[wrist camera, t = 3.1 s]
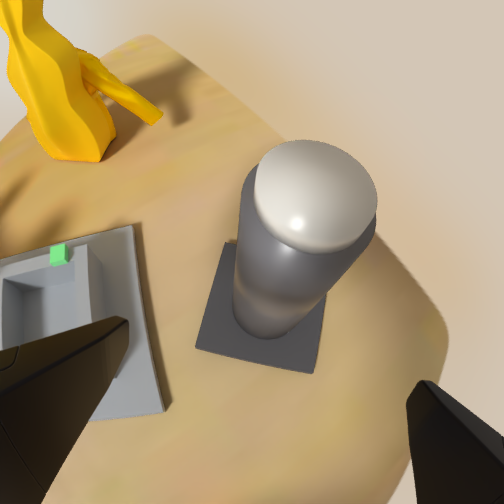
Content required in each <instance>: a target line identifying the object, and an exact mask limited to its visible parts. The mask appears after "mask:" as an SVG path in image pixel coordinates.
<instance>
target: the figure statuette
mask: <svg viewBox="0 0 504 504" xmlns="http://www.w3.org/2000/svg"><path fill="white" fill-rule="evenodd" d="M0 26H1V27H2V28H3V30H4V31H5V32H6V34H7V35H8V37H9V55H8V62H7V76H8V79H9V81H10V83H11V85H12V87H13V88H14V89H15V91H16V93H17V94H18V95H19V97H20V98H21V99H22V101H23V102H24V104H25V106H26V107H27V116H26V118H27V120H28V121H29V122H30V123H31V127H32V130H33V132H34V134H35V136H36V138H37V140H38V141H39V143H40V144H41V146H42V147H43V148H44V150H45V151H46V152H47V153H48V154H49V155H50V156H51V157H52V158H54V159H57V160H71V161H86V162H99V161H100V160H101V158H102V156H103V154H104V152H105V150H106V149H107V147H108V145H109V143H110V142H111V141H112V140H113V139H114V138H115V137H116V135H117V134H116V130H115V127H114V123H113V120H112V118H111V116H110V114H109V111H108V109H107V107H106V106H105V104H104V102H103V101H102V99H101V96H100V95H99V93H98V91H100V92H102V93H103V94H105V95H106V96H108V97H109V98H111V99H113V100H114V101H116V102H117V103H119V104H120V105H122V106H123V107H125V108H126V109H128V110H129V111H131V112H132V113H134V114H135V115H137V116H138V117H140V118H141V119H142V120H144V121H145V122H146V123H148V124H149V125H150V126H152V125H154V124H155V123H156V122H157V121H158V120H159V119H160V118H161V117H162V116H163V114H164V113H163V112H162V111H161V110H159V109H158V108H157V107H155V106H154V105H153V104H151V103H150V102H149V101H147V100H146V99H145V98H144V97H142V96H141V95H140V94H139V93H137V92H136V91H134V90H133V89H132V88H130V87H129V86H127V85H125V84H122V82H121V81H120V80H119V79H118V78H117V77H116V76H115V75H113V74H112V73H110V72H109V71H108V69H107V68H106V67H105V66H103V65H102V63H101V62H100V60H99V59H98V58H97V57H95V56H94V55H92V54H90V53H87V52H86V51H84V50H81V49H78V48H75V47H74V46H73V45H72V44H71V43H70V42H69V41H68V40H67V39H66V38H65V37H64V36H62V35H61V34H60V33H59V32H57V31H56V30H55V29H54V28H53V27H52V26H50V25H49V24H48V23H47V22H46V20H45V19H44V17H43V0H0Z"/></svg>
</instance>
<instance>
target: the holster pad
mask: <svg viewBox="0 0 504 504" xmlns="http://www.w3.org/2000/svg"><path fill="white" fill-rule="evenodd" d="M236 249H237V245H235V244H231V243H226V242H225V244H224V248H223V251H222V254H221V258H220V261H219V264H218V268H217V271H216V275H215V278H214V281H213V285H212V288H211V292H210V295H209V299H208V302H207V306H206V309H205V313H204V316H203V320H202V323H201V327H200V331H199V334H198V338H197V341H196V345H195V348H196V349H200V350H204V351H208V352H211V353H215V354H219V355H223V356H227V357H231V358H236V359H240V360H244V361H248V362H253V363H257V364H262V365H267V366H272V367H277V368H282V369H287V370H292V371H297V372H303V373H309V374H312V373H313V372H314V367H315V361H316V356H317V350H318V344H319V338H320V331H321V325H322V318H323V312H324V305H325V297H326V294H325V295H324V296H323V297H322V299H321V300H320V301H319V302H318V303H317V304H316V305H315V306H314V307H313V308H312V309H311V310H310V312H309V313H308V314H307V315H306V316H305V317H304V318H303V319H302V320H301V321H300V322H299V323H298V324H297V325H296V326H295V327H294V328H293V329H292V330H291V331H290V332H289V333H288V334H286V335H284V336H282V337H280V338H277V339H271V340H264V339H259V338H256V337H253V336H251V335H249V334H248V333H246V332H245V331H244V330H243V329H242V328H241V327H240V326H239V325H238V323H237V322H236V320H235V317H234V315H233V311H232V298H233V286H234V273H235V261H236Z"/></svg>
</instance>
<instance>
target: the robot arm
mask: <svg viewBox="0 0 504 504" xmlns="http://www.w3.org/2000/svg"><path fill="white" fill-rule="evenodd" d="M128 346H129V321H128V319H126V318H123V317H120V316H117V315H115V316H112V317H108V318H105V319H102V320H99V321H96V322H93V323H89V324H86V325H83V326H80V327H77V328H74V329H70V330H67V331H64V332H61V333H57V334H54V335H51V336H48V337H44V338H41V339H38V340H35V341H31V342H28V343H25V344H21V345H20V346H14V347H11V348H8V349H4V350H0V504H41V503H42V501H43V499H44V497H45V495H46V493H47V491H48V490H49V488H50V486H51V484H52V482H53V481H54V479H55V477H56V475H57V474H58V472H59V470H60V468H61V467H62V465H63V463H64V461H65V460H66V458H67V456H68V455H69V453H70V451H71V449H72V448H73V446H74V444H75V443H76V441H77V439H78V438H79V436H80V434H81V433H82V431H83V429H84V428H85V426H86V424H87V423H88V421H89V419H90V418H91V416H92V415H93V413H94V411H95V410H96V408H97V406H98V405H99V403H100V402H101V400H102V398H103V397H104V395H105V394H106V392H107V390H108V389H109V387H110V385H111V383H112V381H113V378H114V376H115V374H116V372H117V370H118V368H119V366H120V364H121V362H122V360H123V357H124V355H125V353H126V351H127V349H128ZM406 410H407V422H408V435H409V446H410V453H411V459H412V466H413V473H414V480H415V488H416V497H417V504H504V437H503V436H501V434H499V433H498V432H496V431H495V430H494V429H493V428H492V427H490V426H489V425H488V424H486V423H485V422H484V421H483V420H481V419H480V418H479V417H477V416H476V415H475V414H473V413H472V412H471V411H470V410H468V409H467V408H466V407H464V406H463V405H462V404H460V403H459V402H458V401H457V400H455V399H454V398H453V397H452V396H450V395H449V394H448V393H446V392H445V391H444V390H442V389H441V388H440V387H439V386H437V385H436V384H435V383H433V382H432V381H427V380H421V381H419V382H418V383H417V385H416V386H415V388H414V389H413V391H412V392H411V394H410V396H409V397H408V399H407V402H406Z"/></svg>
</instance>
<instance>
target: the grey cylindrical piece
mask: <svg viewBox="0 0 504 504" xmlns="http://www.w3.org/2000/svg"><path fill="white" fill-rule="evenodd" d="M376 208H377V193H376V189H375V186H374V183H373V181H372V179H371V177H370V175H369V174H368V173H367V171H366V170H365V169H364V167H363V166H362V165H361V164H360V163H359V162H358V161H357V160H356V159H354V158H353V157H352V156H351V155H349V154H348V153H346V152H344V151H343V150H341V149H339V148H337V147H335V146H332V145H329V144H326V143H323V142H319V141H312V140H295V141H289V142H286V143H282V144H280V145H278V146H276V147H274V148H272V149H271V150H270V151H269V152H267V153H266V154H265V156H264V157H263V158H262V160H261V161H260V163H259V164H257V165H256V166H255V167H254V168H253V169H252V170H251V171H250V173H249V174H248V176H247V177H246V179H245V182H244V184H243V188H242V192H241V203H240V215H239V226H238V238H237V249H236V261H235V273H234V286H233V298H232V311H233V315H234V317H235V320H236V322H237V323H238V325H239V326H240V327H241V328H242V329H243V330H244V331H245V332H246V333H248V334H249V335H251V336H253V337H256V338H259V339H264V340H271V339H277V338H280V337H282V336H284V335H286V334H288V333H289V332H290V331H291V330H292V329H293V328H294V327H295V326H296V325H297V324H298V323H299V322H300V321H301V320H302V319H303V318H304V317H305V316H306V315H307V314H308V313H309V312H310V310H311V309H312V308H313V307H314V306H315V305H316V304H317V303H318V302H319V301H320V300H321V299H322V297H323V296H324V295H325V294H326V293H327V292H328V291H329V290H330V289H331V288H332V286H333V285H334V284H335V283H336V282H337V281H338V280H339V279H340V277H341V276H342V275H343V274H344V273H345V272H346V271H347V270H348V268H349V267H350V266H351V265H352V264H353V263H354V261H355V260H356V259H357V258H358V257H359V256H360V254H361V253H362V252H363V251H364V250H365V249H366V247H367V246H368V245H369V243H370V241H371V240H372V237H373V235H374V232H375V227H376Z"/></svg>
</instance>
